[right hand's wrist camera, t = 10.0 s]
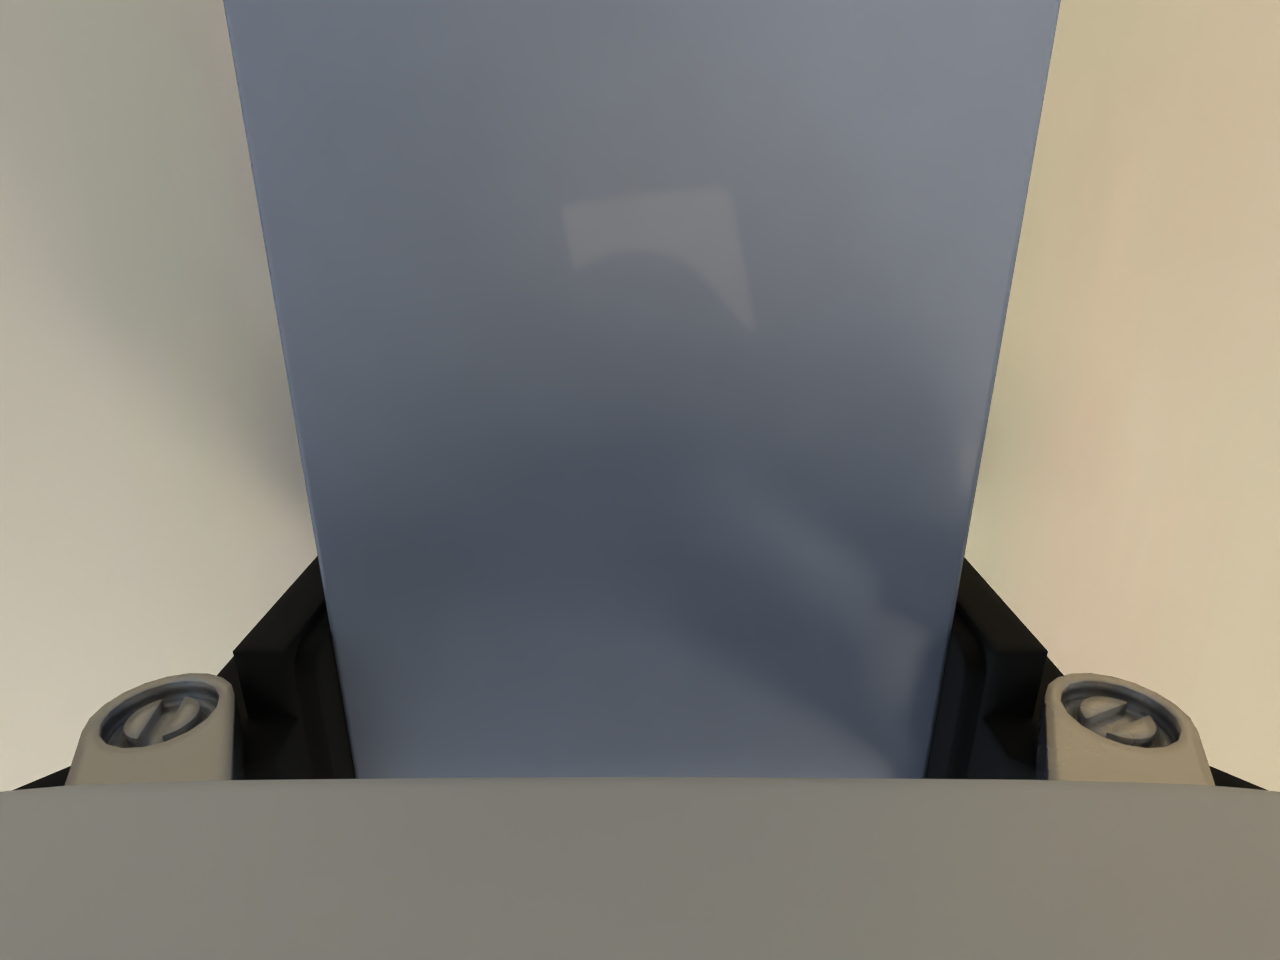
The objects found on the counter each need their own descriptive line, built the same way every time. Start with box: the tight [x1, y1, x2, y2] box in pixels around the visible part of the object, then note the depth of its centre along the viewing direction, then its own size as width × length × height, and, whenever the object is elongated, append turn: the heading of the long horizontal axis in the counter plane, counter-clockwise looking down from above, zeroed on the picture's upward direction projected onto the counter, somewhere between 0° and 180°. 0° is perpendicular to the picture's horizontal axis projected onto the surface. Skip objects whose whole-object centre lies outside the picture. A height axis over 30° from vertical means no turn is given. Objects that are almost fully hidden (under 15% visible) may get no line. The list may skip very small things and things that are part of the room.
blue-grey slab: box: [223, 0, 1061, 779], centre depth 11 cm, size 16×7×8 cm, turn 0°
